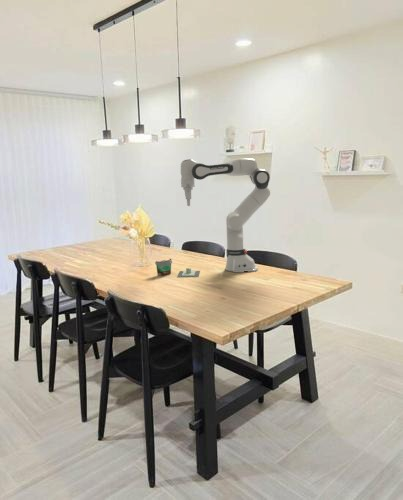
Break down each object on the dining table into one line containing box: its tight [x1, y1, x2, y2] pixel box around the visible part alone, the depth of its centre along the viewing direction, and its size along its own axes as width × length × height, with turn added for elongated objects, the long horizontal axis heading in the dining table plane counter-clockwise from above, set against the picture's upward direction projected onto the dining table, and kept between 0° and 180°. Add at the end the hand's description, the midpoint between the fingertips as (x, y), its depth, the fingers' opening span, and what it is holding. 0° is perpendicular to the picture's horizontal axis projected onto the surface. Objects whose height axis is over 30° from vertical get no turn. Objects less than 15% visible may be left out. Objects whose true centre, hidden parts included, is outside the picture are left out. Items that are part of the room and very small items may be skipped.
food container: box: [155, 258, 173, 277], centre depth 261 cm, size 12×6×10 cm, turn 129°
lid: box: [181, 267, 197, 278], centre depth 261 cm, size 8×13×4 cm, turn 176°
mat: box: [176, 270, 201, 279], centre depth 261 cm, size 14×17×1 cm
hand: (188, 205), depth 265 cm, fingers open, 8 cm apart
